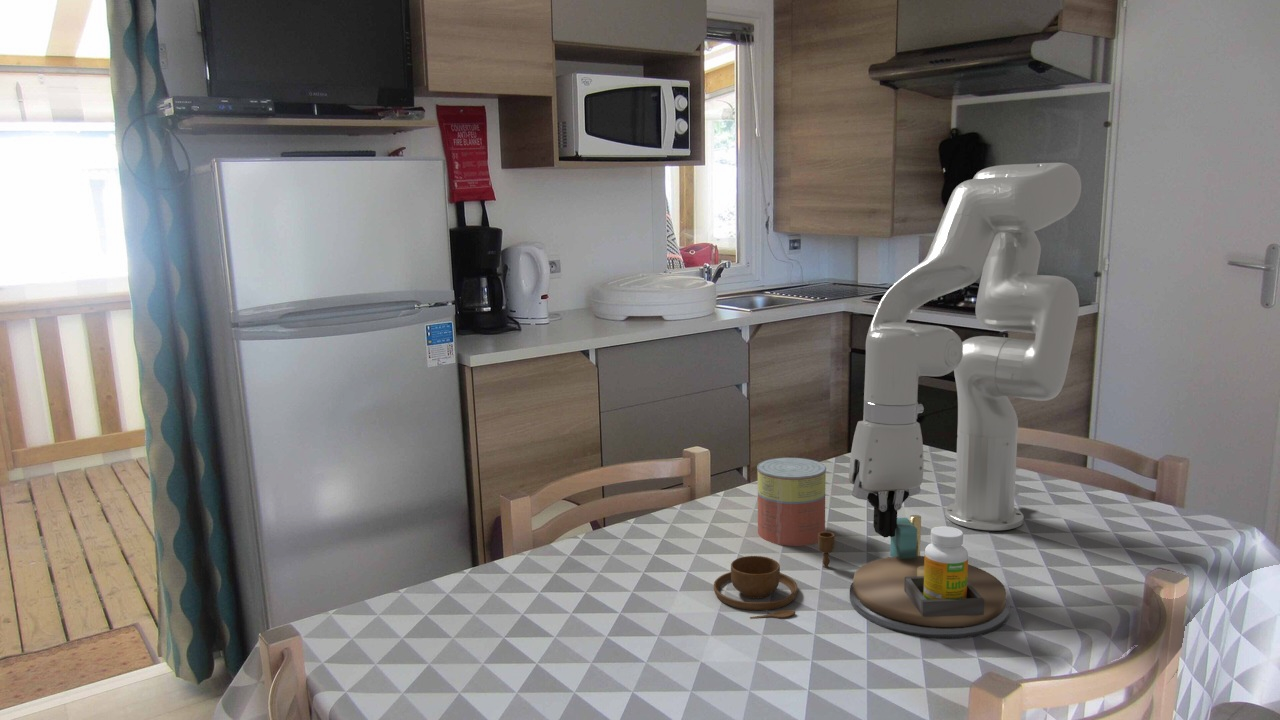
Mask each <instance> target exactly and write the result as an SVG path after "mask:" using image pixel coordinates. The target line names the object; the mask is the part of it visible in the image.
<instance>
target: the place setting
mask: <svg viewBox="0 0 1280 720" xmlns="http://www.w3.org/2000/svg"><path fill="white" fill-rule="evenodd" d="M817 544H818V545H817V546H818V550H819V551H820V552H821V553H822V555H823V558H822V564H823V566H822V567H823V568H824V569H829V568H830V567H829V564H830V558H829V555H830V553H832V552H833V551H834V548H835V534H834V533H833V532H830V531H825V532H820V533H819V534H818V542H817ZM780 568H781V566H780V563H779V562H778V561H777V560H775V559H773V558H770V557H767V556H761V555H748V556H747V555H746V556H742V557H738V558H736V559H734V560H733V561H731V563H730V571H729V572H726V573H723V574H722V575H720V576H718V577H717V578H716V579H715V581H714V582H713V591H714V594H715V596H716V597H717V599H719V601H721V603H724V604H725V605H727V606H730V607H733V608H736V609H740V610H746V611H769V610H775V609H776V610H777V609H779V608H783V607H785V606H788V605H789V604H790V603H792V602H793V601H794V600H795V599H796V597H797V594H798V588H799V587H798V584H797V582H796V581H795V580H794V579H793V578H791V577H790V576H788V575H786V574H784V573H781V572H780V570H781V569H780ZM730 581H731V583H732V586H733V587H734V588H735V590H737V591H738V592H739V593H741V594H742V596H743V597H746V598H748V599H763V598H766V597H768V596H769V595H770V594H771V593H773V592H774V591H776V590H777V588H778V586H779V584H780V583H782V584H783V585H785V586H786V587H787V588H788V589H789V590H790V595H788V596H786V597H784V598H782V599H778V600H774V601H766V602H749V601H743V600H737V599H733V598H731V597H728V596H726V595H724V594H722V592H720V588H721V587H722V586H723V585H724V584H726V583H728V582H730ZM795 614H796V611H795V610H792V609H791V610H789V609H783V610H777V611H775V612H773V613H770V614H769V613H768V614H762V615H756V616H750V617H749V619H750V620H755V619H763V618H764V619H765V618H775V619H787V618H791V617H793V616H795Z"/></svg>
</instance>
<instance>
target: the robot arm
mask: <svg viewBox="0 0 1280 720" xmlns="http://www.w3.org/2000/svg"><path fill="white" fill-rule="evenodd" d="M1081 194H1082V180H1081V176H1080V174H1079V172H1078V171H1077V169H1076V168H1075V167H1074V166H1073V165H1071V164H1069V163H1065V162H1042V163H1041V162H1040V163H1019V164H1018V163H1014V164H1013V163H1012V164H1001V165H1000V164H999V165H994V166H989V167H985V168H983V169H981V170H978V171H977V172H976V174H974V176H973V178H972V179H971V178H970V179H967V180H964V181H963V182H961V183H959V184H958V185H956V187H955V188H954V189H953V190H952V192H951V195H950V197H949V198H948V201H947V204H946V207H945V209H944V212H943V214H942V216H941V219H940V222H939V224H938V227H937V230H936V231H935V235H934V238H933V240H932V242H931V245H930V247H929V249H928V252H927V255H926V257H925V258H924V259H923V260H922V261H921V262H920V263H918V264H917V265H915V266H914V267H913V268H912V269H910V270H909V271H907V272H906V273H905V274H904V275H903V276H901V277H900V278H899V279H898V280H897V281H896V282H894V284H892V286H890V287H889V289H888V290H887V291H886V292H885V293H884V295H883V296H882V297H881V299H880V301H879V303H878V306H877V307H876V310H875V312H874V315H873V317H872V320H871V322H870V324H869V328H868V330H867V333H866V334H867V335H866V339H865V367H864V389H863V393H864V395H863V419H862V420H859V421H857V424H856V427H855V431H854V435H853V439H852V444H851V445H852V446H851V451H850V461H849V469H848V470H849V471H848V472H849V473H848V480H849V482H850V484H852V485H853V487H852V492H851V495H852V497H855V498H856V499H859V500H863V501H867V502H868V503H869V504H870V505H871V506H872V507H873V524H872V525H873V529H874V532H875V533H876V534H879V535H880V536H881V537H883V538H889V537H890V538H891V537H894V536H895V529H896V527H897V518H898V511H900V510H901V509H902V506H903V505H902V504H903V503H904V502H905V501H906V500H907V499H908V497H912V496H913V497H914V496H916V495H919V494H920V493H921V485H922V483H923V479H924V461H925V460H924V444H923V435H922V429H921V428H922V427H921V423H920V422H918V421H917V420H918V415H919V414H922V413H923V412H924V409H925V408H924V405H923V404H922V403H919V402H918V392H919V391H918V390H919V377H922V376H923V377H943V376H945V375H948V374H950V373H952V372H953V373H954V378H955V379H954V380H955V386H956V395H957V431H956V432H957V433H956V434H957V435H956V436H957V437H956V465H955V467H956V468H955V488H954V489H955V490H954V491H955V494H954V502H953V503H950V504H949V505H947V506H946V507H945V513H944V514H945V517H946V518H947V520H949V521H950V522H951V523H953V524H955V525H958V526H961V527H965V528H969V529H974V530H981V531H991V532H992V531H993V532H994V531H1007V530H1013V529H1016V528H1019V527H1021V526H1022V525H1023V524H1024V519H1025V518H1024V514H1023V513H1022V512H1021V511H1020V510H1019V509H1017V508H1015V498H1016V497H1017V496H1019V494H1020V490H1019V488H1018V487H1017V486H1016V474H1017V473H1016V472H1017V452H1018V431H1019V420H1018V416H1017V412H1016V409H1015V407H1014V406H1013V404H1012V402H1011V401H1010V398H1017V399H1024V400H1032V401H1039V402H1043V401H1044V402H1045V401H1049V400H1053V399H1055V398H1056V397H1057V396H1058V395H1059V394H1060V393H1061V391H1062V389H1063V387H1064V384H1065V381H1066V378H1067V373H1068V370H1069V369H1068V368H1069V364H1070V358H1071V353H1072V350H1073V345H1074V341H1075V340H1074V339H1075V336H1076V335H1075V334H1076V329H1077V326H1078V319H1079V314H1080V312H1079V311H1080V299H1079V294H1078V290H1077V288H1076V286H1075V285H1074V283H1073V282H1072V281H1071V280H1069V279H1068V278H1066V277H1063V276H1058V275H1051V274H1049V275H1047V274H1045V275H1044V274H1038V270H1039V264H1040V258H1041V252H1042V247H1041V243H1040V240H1039V239H1038V237H1037V234H1036V233H1035V232H1036V231H1040V230H1042V229H1044V228H1046V227H1048V226H1050V225H1052V224H1054V223H1055V222H1057V221H1059V220H1061V219H1063V218H1065V217H1066V216H1068V215H1069V214H1070V213H1071V212H1073V210H1075V208H1076V206H1077V205H1078V203H1079V201H1080V198H1081ZM979 279H980V281H979V286H978V290H977V296H976V302H975V308H974V309H975V318H976V320H977V321H978V322H979V324H981V325H982V326H984V327H987V328H988V329H992V330H999V331H1007V332H1016V333H1017V332H1018V333H1019V332H1020V333H1027V334H1029V333H1030V334H1035V338H1034V340H1030V339H1019V338H1014V337H1002V336H990V335H979V336H972V337H969V338H967V339H964V340H963V341H962V339H961V336H960V335H958V333H956V332H955V331H954V330H953V329H950V328H948V327H945V326H942V325H941V326H940V325H931V324H923V323H922V324H921V323H911V322H907V321H908V319H909V318H910V317H911V315H912V314H913V313H914V312H915V311H917V309H919V308H920V307H922V306H923V305H924V304H927V303H928V302H929V301H932V300H934V299H936V298H937V299H938V298H940V297H942V296H945V295H947V294H950V293H953V292H955V291H958V290H961V289H964V288H966V287H968V286H970V285H972V284H974V283H976V282H977V280H979ZM1009 397H1010V398H1009Z"/></svg>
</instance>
